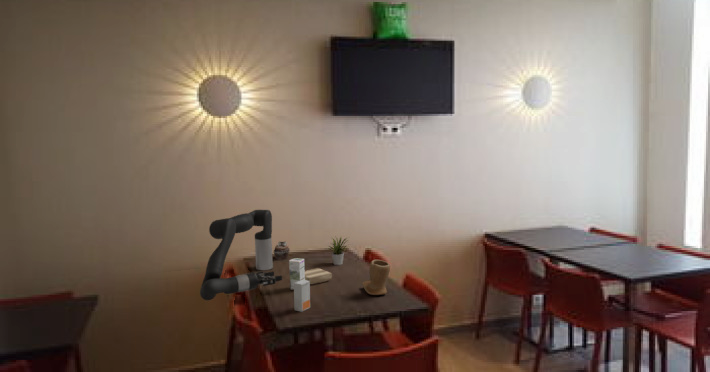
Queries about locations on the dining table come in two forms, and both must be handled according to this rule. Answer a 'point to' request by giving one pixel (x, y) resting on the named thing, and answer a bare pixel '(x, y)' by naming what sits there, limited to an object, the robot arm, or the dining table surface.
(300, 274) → the syrup box
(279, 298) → the dining table surface
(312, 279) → the wood stand
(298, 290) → the skincare box
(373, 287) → the stone cup
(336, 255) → the house plant
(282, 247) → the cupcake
